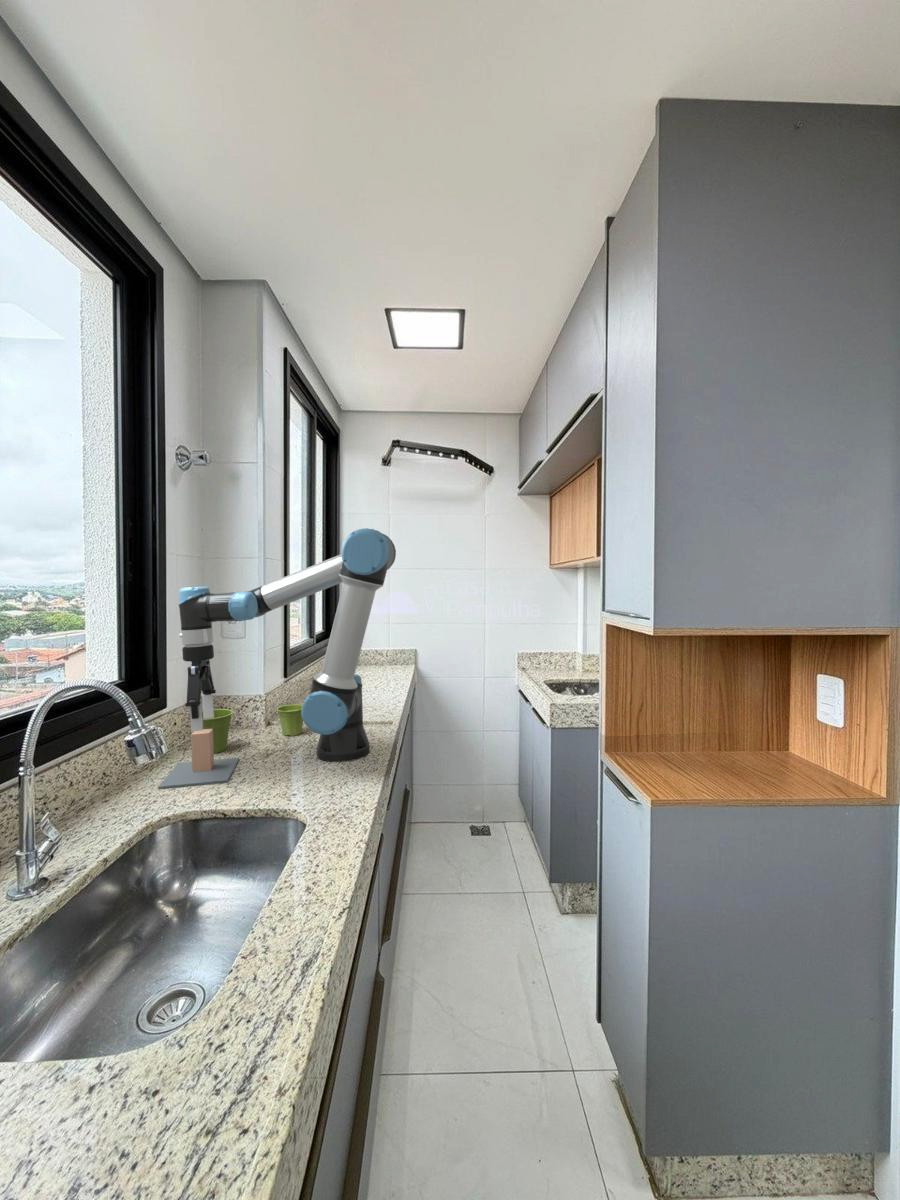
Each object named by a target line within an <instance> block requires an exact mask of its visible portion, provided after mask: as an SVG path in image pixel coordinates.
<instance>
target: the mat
mask: <svg viewBox="0 0 900 1200" xmlns="http://www.w3.org/2000/svg"><path fill="white" fill-rule="evenodd" d="M239 761H240V757H232V758H231V757H229V758H218V759H214V766H213V768H212V769H211V770H210V771H200V772H193V770H192V761H186V762H185V761H183V762H177V764H176V765H175V766H174V767H173V769H172V770H171V771H170V772H169V773H168V774H167V776H166V777H165V778H163V781H162V782H161V783H160V784H159V785H158V786H157V789H158V790H164V789H174V788H185V787H194V786H195V787H196V786H206V785H215V784H224V783H225V784H227V783H228V782H229V781H230V779H231V776H232V775H233V773H234V771H235V769H236V767H237V765H238V762H239Z"/></svg>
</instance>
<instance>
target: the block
mask: <svg viewBox="0 0 900 1200" xmlns="http://www.w3.org/2000/svg"><path fill="white" fill-rule="evenodd" d="M190 742H191V743H190V745H191V762H192V770H193V772H200V771H210V770H211V769H212V768H213V766H214V760H215V753H214V748H213V729H203V730H202V731H192V732H191V734H190Z"/></svg>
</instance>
